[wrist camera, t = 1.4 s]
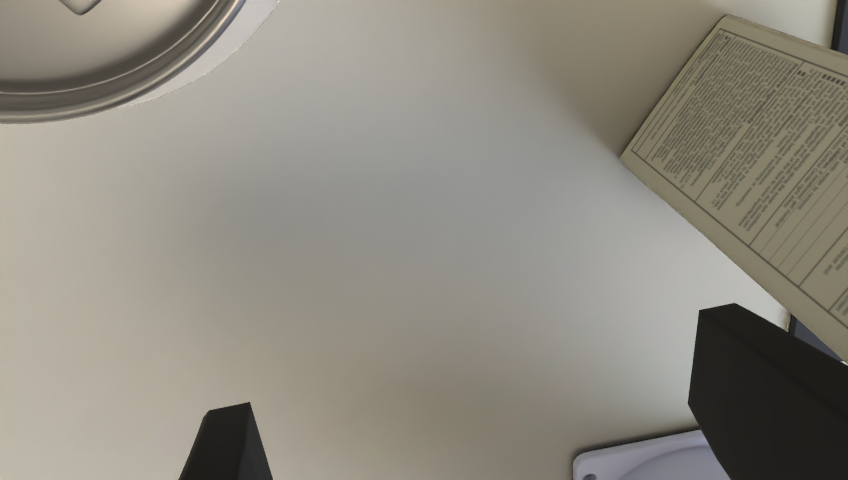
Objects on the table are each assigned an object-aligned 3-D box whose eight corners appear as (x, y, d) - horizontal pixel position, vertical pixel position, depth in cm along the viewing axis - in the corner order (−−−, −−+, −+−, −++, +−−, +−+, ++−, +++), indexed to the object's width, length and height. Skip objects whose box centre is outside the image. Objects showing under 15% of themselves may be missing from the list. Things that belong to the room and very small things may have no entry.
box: (712, 220, 24) (998, 477, 14) (611, 156, 22) (856, 397, 13) (830, 78, 22) (1246, 261, 13) (730, -1, 21) (1117, 138, 11)
